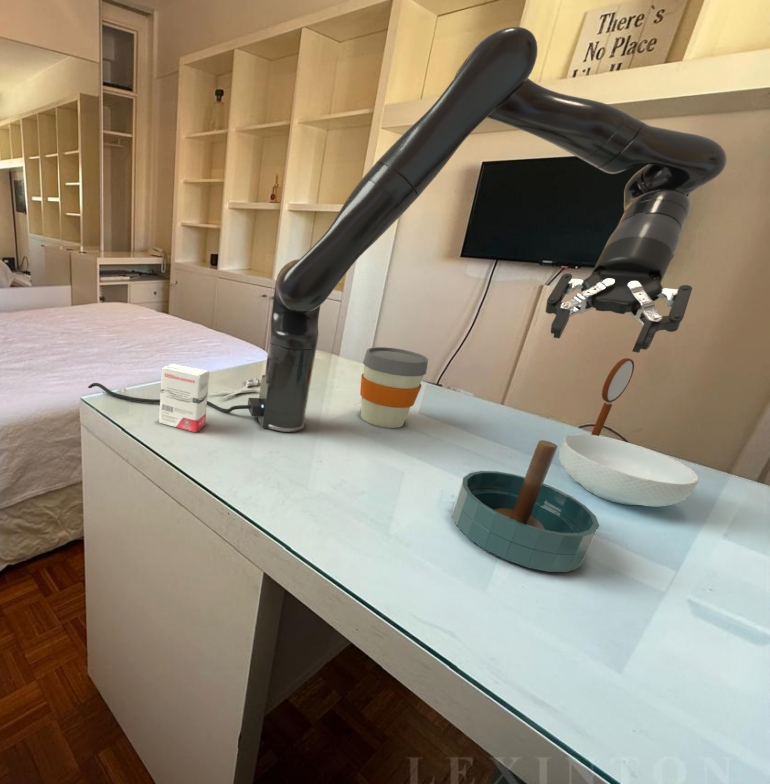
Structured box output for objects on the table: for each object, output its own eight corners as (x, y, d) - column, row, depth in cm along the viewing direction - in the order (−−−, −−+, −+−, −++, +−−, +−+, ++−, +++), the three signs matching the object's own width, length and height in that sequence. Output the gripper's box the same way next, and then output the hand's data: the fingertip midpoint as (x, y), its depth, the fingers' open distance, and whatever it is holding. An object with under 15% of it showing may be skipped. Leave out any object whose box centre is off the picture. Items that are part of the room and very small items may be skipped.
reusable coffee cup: (423, 424, 100) (441, 359, 95) (390, 436, 93) (408, 366, 88) (373, 405, 109) (387, 344, 104) (340, 414, 103) (353, 350, 97)
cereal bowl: (653, 534, 66) (674, 492, 64) (530, 478, 80) (543, 442, 78) (697, 507, 74) (717, 470, 72) (577, 460, 88) (591, 427, 85)
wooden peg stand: (509, 546, 61) (544, 454, 56) (479, 519, 66) (509, 432, 61) (551, 547, 61) (590, 455, 56) (518, 519, 67) (551, 434, 62)
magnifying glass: (592, 448, 93) (632, 355, 86) (602, 452, 92) (643, 358, 85) (570, 455, 90) (610, 358, 83) (581, 460, 88) (622, 361, 81)
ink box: (206, 424, 93) (210, 369, 89) (195, 433, 88) (200, 376, 84) (169, 415, 96) (172, 361, 92) (157, 423, 92) (160, 367, 88)
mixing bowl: (499, 574, 56) (514, 534, 54) (430, 503, 70) (440, 469, 68) (612, 575, 57) (632, 536, 55) (522, 505, 71) (535, 472, 69)
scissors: (286, 388, 114) (227, 402, 102) (285, 391, 114) (227, 406, 102) (255, 376, 122) (198, 388, 110) (255, 379, 122) (197, 391, 110)
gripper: (577, 231, 68) (535, 314, 64) (717, 238, 58) (676, 336, 55) (570, 267, 73) (531, 345, 70) (697, 279, 64) (659, 370, 60)
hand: (595, 341), depth 62 cm, fingers open, 8 cm apart
